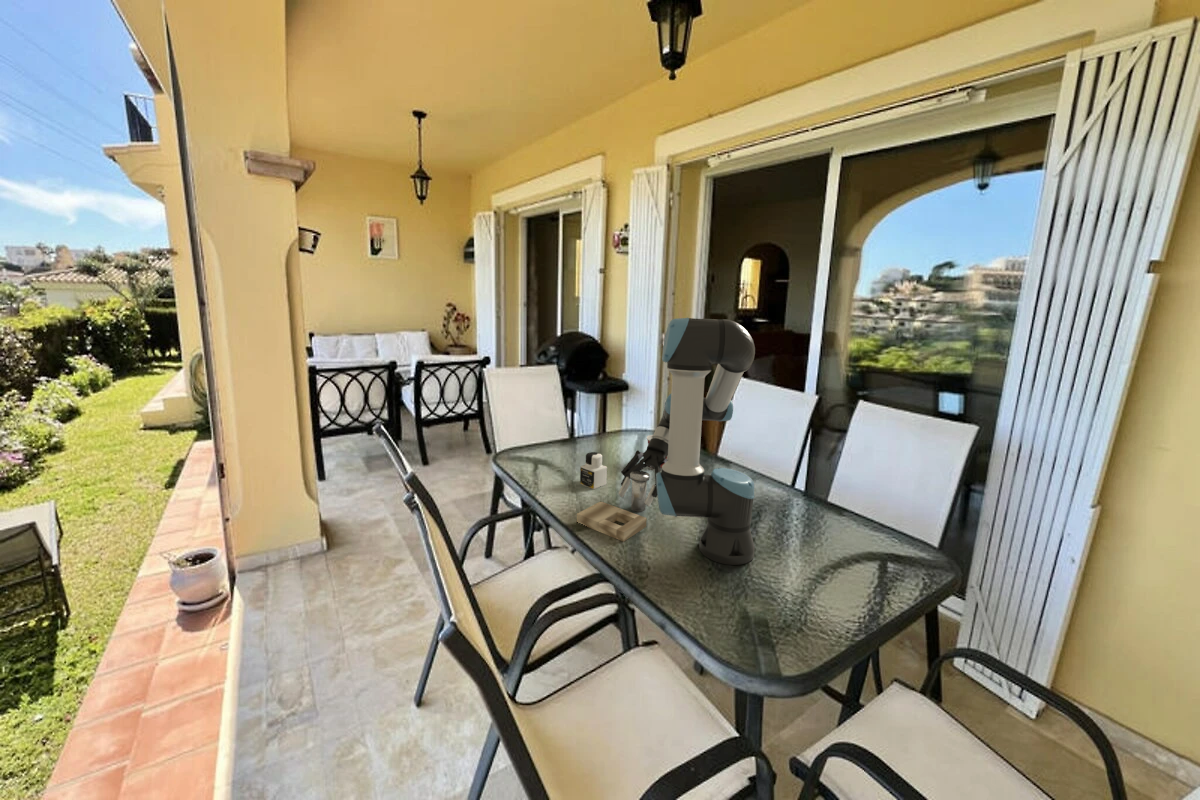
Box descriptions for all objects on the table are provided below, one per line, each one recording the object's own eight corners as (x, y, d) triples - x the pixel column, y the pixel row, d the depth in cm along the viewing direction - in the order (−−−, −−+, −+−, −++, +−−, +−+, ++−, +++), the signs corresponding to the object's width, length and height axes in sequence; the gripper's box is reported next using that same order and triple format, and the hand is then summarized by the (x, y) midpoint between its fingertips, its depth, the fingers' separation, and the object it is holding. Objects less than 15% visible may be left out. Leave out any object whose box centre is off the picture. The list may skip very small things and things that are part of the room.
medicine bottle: (579, 484, 185) (580, 453, 182) (592, 479, 190) (593, 449, 187) (593, 489, 180) (594, 458, 178) (606, 484, 185) (607, 454, 183)
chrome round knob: (651, 508, 167) (653, 474, 164) (640, 514, 162) (642, 479, 159) (635, 502, 171) (637, 469, 168) (624, 509, 166) (626, 474, 163)
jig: (646, 526, 154) (646, 517, 153) (623, 541, 145) (624, 532, 144) (600, 509, 165) (600, 501, 164) (576, 522, 156) (576, 513, 155)
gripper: (693, 455, 168) (666, 515, 159) (638, 441, 181) (610, 495, 172) (687, 444, 162) (659, 505, 154) (630, 430, 176) (601, 485, 167)
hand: (633, 500), depth 163 cm, fingers open, 10 cm apart
